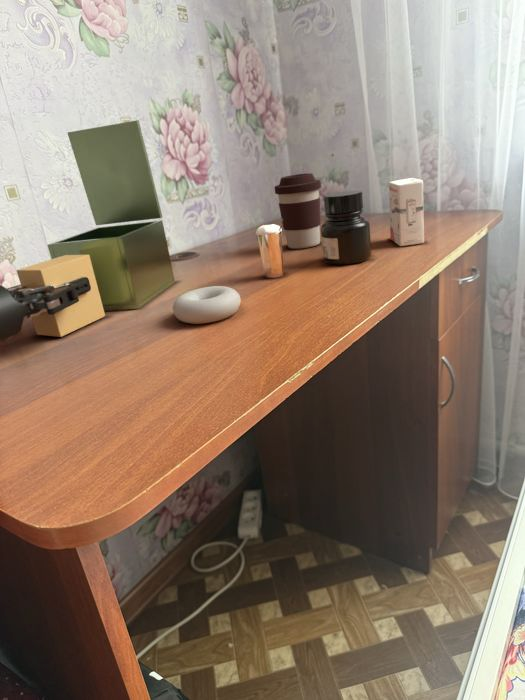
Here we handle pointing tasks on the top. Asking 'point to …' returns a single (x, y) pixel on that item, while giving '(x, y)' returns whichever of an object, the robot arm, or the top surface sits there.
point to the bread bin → (123, 261)
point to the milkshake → (271, 249)
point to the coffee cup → (300, 209)
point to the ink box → (406, 211)
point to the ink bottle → (345, 229)
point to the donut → (206, 304)
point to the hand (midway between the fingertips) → (74, 283)
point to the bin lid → (116, 173)
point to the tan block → (60, 273)
